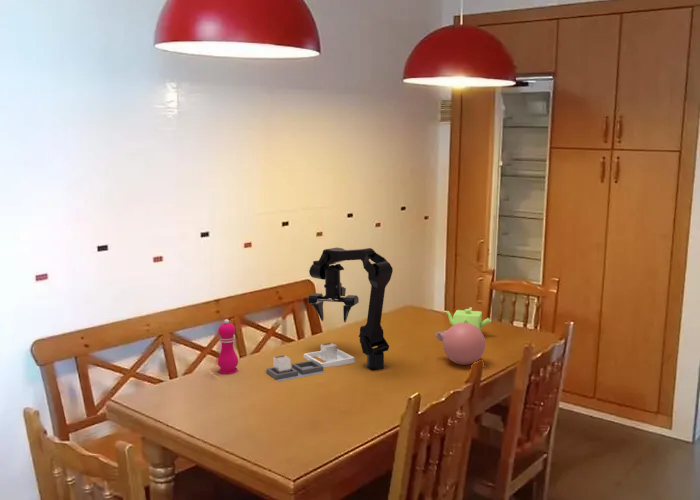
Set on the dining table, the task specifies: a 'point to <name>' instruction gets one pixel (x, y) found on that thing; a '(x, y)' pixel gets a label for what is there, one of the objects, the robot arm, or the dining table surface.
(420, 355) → the dining table surface
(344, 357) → the white square tray
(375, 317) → the robot arm
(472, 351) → the balloon
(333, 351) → the billet loose
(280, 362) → the block
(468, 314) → the kettle
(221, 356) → the pepper mill
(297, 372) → the plate
